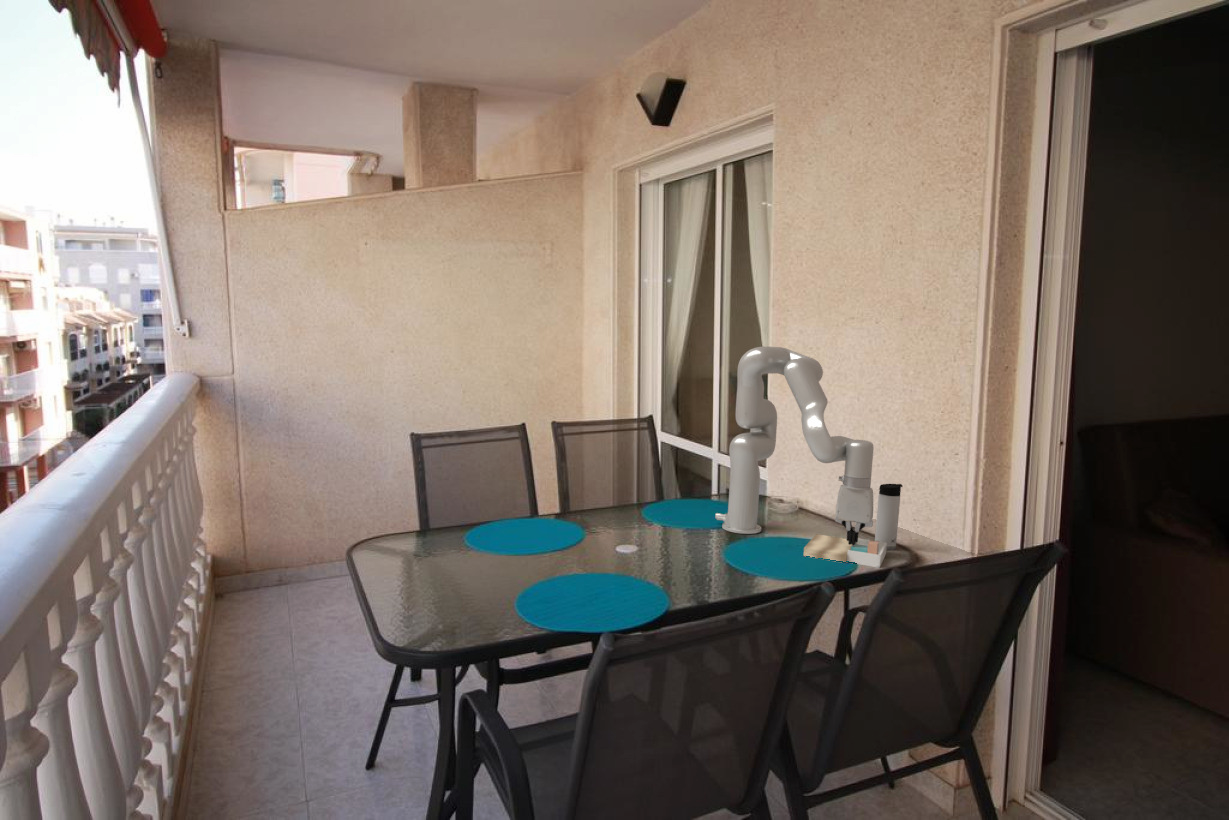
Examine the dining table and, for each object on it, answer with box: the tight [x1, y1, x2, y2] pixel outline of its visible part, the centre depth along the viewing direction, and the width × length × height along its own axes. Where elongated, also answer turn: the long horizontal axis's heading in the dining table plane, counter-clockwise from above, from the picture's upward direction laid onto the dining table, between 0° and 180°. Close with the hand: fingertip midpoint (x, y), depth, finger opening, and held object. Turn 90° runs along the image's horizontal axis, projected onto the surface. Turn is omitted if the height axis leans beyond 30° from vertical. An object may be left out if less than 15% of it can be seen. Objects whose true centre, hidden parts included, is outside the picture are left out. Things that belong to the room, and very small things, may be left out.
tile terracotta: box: [867, 539, 879, 555], centre depth 223 cm, size 4×4×2 cm
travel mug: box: [874, 483, 903, 551], centre depth 236 cm, size 6×7×20 cm
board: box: [803, 534, 852, 563], centre depth 228 cm, size 12×18×2 cm, turn 154°
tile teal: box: [851, 544, 868, 553], centre depth 225 cm, size 4×4×2 cm
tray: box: [847, 537, 887, 569], centre depth 224 cm, size 9×16×4 cm, turn 154°
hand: (851, 543), depth 226 cm, fingers closed
